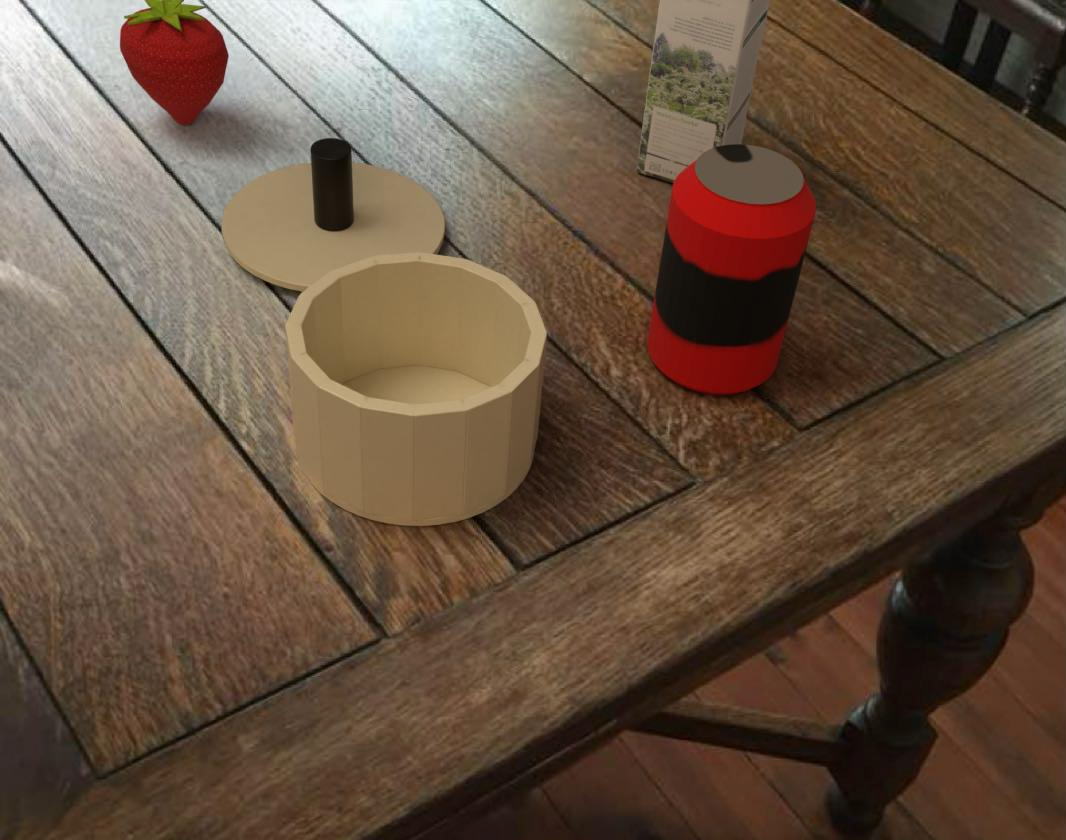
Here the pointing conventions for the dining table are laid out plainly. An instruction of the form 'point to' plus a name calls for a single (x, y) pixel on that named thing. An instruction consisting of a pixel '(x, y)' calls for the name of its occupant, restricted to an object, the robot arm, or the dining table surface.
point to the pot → (415, 387)
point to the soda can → (729, 268)
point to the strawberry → (175, 56)
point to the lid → (327, 217)
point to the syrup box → (699, 80)
